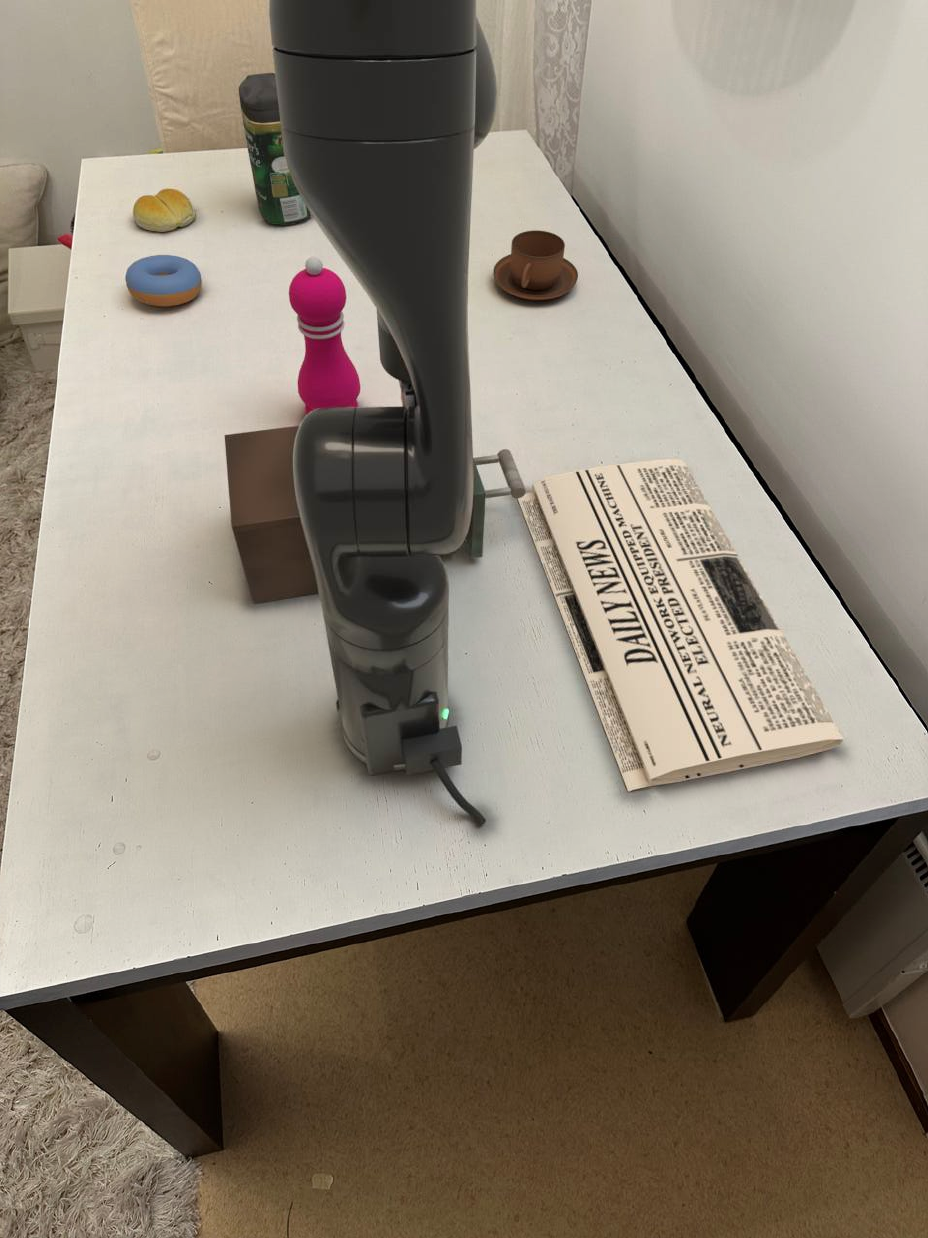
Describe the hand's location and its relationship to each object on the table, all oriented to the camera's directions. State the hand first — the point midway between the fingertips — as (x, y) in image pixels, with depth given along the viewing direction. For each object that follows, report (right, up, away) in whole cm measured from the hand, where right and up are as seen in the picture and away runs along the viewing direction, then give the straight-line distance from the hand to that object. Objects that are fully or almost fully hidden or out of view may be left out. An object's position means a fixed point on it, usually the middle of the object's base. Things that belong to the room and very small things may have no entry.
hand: (425, 468), depth 83 cm
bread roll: (-42, +47, +48) cm, 79 cm away
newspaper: (+23, -14, +1) cm, 27 cm away
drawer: (0, -5, +6) cm, 8 cm away
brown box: (-11, -7, +5) cm, 14 cm away
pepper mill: (-12, +9, +18) cm, 24 cm away
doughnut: (-37, +30, +34) cm, 59 cm away
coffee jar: (-24, +49, +50) cm, 74 cm away
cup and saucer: (+14, +33, +38) cm, 52 cm away
